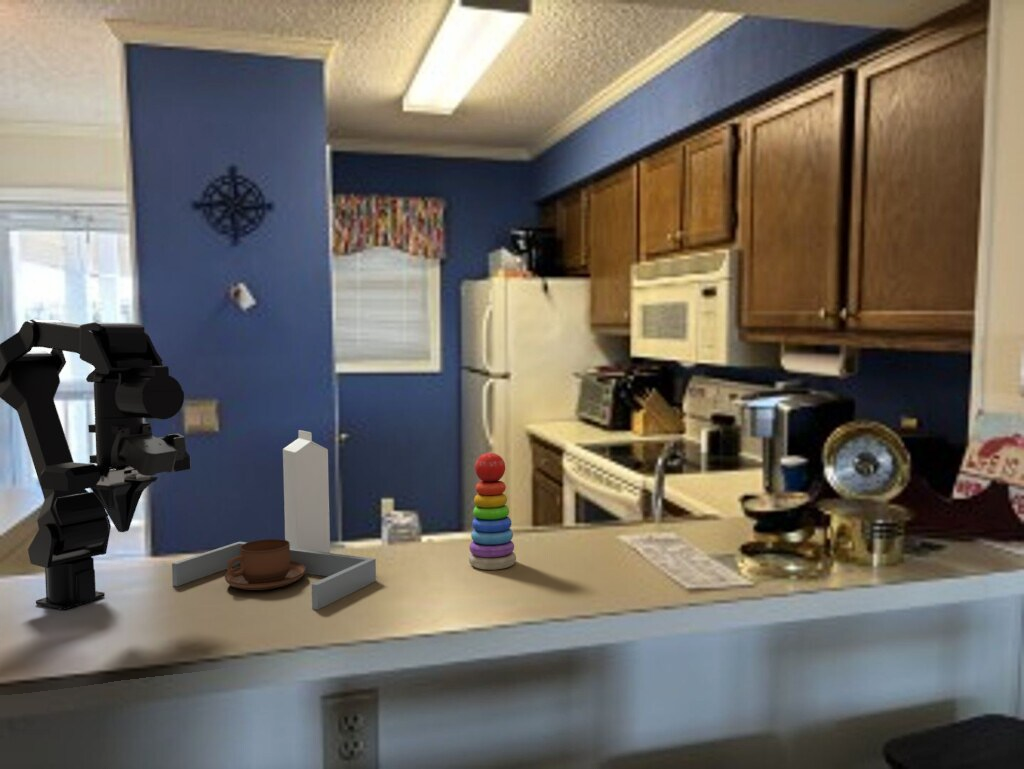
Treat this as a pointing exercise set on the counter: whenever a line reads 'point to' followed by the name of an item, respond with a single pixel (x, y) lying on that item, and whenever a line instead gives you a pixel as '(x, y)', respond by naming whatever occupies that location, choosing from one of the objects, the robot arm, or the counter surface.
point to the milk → (306, 494)
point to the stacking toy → (491, 517)
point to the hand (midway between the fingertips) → (123, 531)
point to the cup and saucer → (264, 566)
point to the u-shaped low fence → (340, 568)
